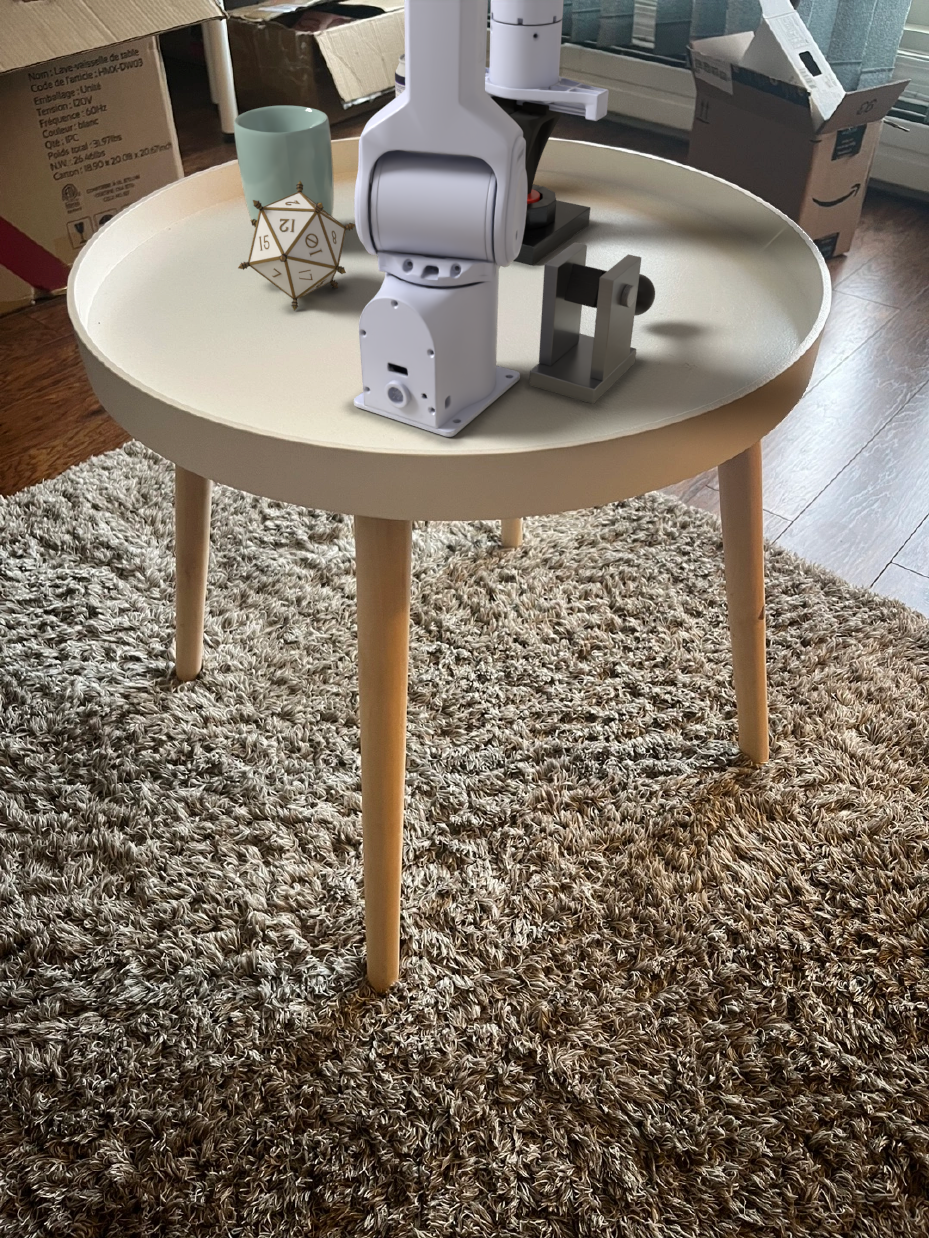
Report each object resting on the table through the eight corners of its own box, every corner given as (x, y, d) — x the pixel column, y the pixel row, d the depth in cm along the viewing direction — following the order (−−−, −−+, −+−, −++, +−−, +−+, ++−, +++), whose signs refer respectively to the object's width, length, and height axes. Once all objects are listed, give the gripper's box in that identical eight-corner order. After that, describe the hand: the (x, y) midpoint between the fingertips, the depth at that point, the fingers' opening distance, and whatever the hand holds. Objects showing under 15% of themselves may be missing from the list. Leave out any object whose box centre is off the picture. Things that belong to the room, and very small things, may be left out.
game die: (302, 327, 85) (307, 206, 84) (372, 318, 80) (379, 188, 79) (214, 304, 78) (219, 172, 77) (285, 292, 73) (291, 150, 72)
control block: (504, 207, 96) (505, 169, 94) (589, 225, 93) (592, 186, 90) (443, 245, 89) (443, 205, 87) (532, 267, 86) (534, 225, 83)
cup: (355, 233, 91) (346, 114, 84) (300, 262, 86) (286, 139, 79) (288, 216, 94) (275, 100, 87) (232, 243, 89) (213, 122, 82)
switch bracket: (567, 345, 75) (576, 234, 69) (641, 365, 73) (656, 252, 67) (522, 384, 70) (527, 269, 65) (599, 407, 68) (612, 289, 62)
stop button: (510, 204, 91) (511, 184, 90) (545, 212, 90) (546, 192, 89) (491, 216, 89) (491, 196, 88) (526, 224, 88) (527, 204, 86)
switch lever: (617, 311, 77) (628, 271, 76) (654, 320, 76) (665, 280, 75) (557, 303, 67) (568, 257, 66) (597, 314, 66) (609, 266, 65)
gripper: (631, 19, 79) (613, 196, 88) (473, -1, 85) (472, 166, 94) (592, 37, 75) (577, 221, 84) (428, 14, 80) (431, 189, 89)
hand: (519, 194), depth 88 cm, fingers closed, pressing on stop button
